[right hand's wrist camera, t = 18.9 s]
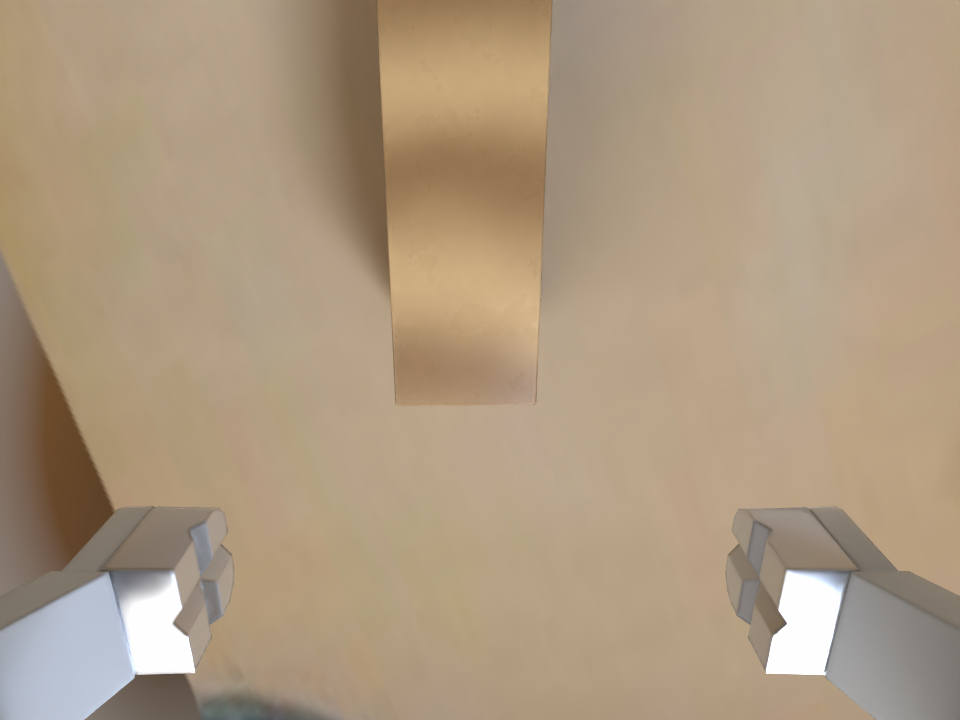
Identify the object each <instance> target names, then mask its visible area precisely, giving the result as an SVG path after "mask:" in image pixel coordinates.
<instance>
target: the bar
mask: <svg viewBox="0 0 960 720" xmlns="http://www.w3.org/2000/svg"><path fill="white" fill-rule="evenodd" d="M376 7H377V28H378V49H379V69H380V90H381V111H382V132H383V153H384V174H385V194H386V215H387V236H388V257H389V278H390V298H391V319H392V340H393V361H394V382H395V403H396V405H397V406H420V405H535V404H536V395H537V370H538V345H539V320H540V296H541V271H542V246H543V221H544V196H545V171H546V146H547V121H548V96H549V71H550V46H551V21H552V0H376Z"/></svg>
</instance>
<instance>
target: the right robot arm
mask: <svg viewBox="0 0 960 720" xmlns="http://www.w3.org/2000/svg"><path fill="white" fill-rule="evenodd" d="M227 532H228V528H227V523H226V518H225V514H224V512H223V511H222V510H220V509H219V508H200V507H153V506H138V507H123V508H120V509H118V510H117V511H116V512H115V513H114V514H113V515H112V516H111V517H110V518H109V520H108V521H107V522H106V523H105V524H104V525H103V526H102V527H101V528H100V529H99V530H98V532H97V533H96V534H95V535H94V536H93V537H92V538H91V539H90V541H88V543H87V544H86V545H85V546H84V547H83V548H82V549H81V550H80V551H79V552H78V554H77V555H76V556H75V557H74V558H73V559H72V560H71V561H70V562H69V563H68V565H67V566H66V567H65V568H64V569H63V570H62V571H51V572H49V573H47V574H45V575H42V576H40V577H38V578H36V579H34V580H32V581H30V582H28V583H26V584H24V585H22V586H20V587H18V588H16V589H14V590H12V591H10V592H8V593H6V594H4V595H1V596H0V720H84V719H85V718H87V717H88V716H89V715H90V714H91V713H93V712H94V711H95V710H96V709H97V708H99V707H100V706H101V705H102V704H103V703H105V702H106V701H107V700H108V699H109V698H111V697H112V696H113V695H114V694H116V693H117V692H118V691H119V690H120V689H121V688H123V687H124V686H125V685H126V684H128V683H129V682H130V681H131V680H132V679H134V677H135V676H134V674H168V673H194V672H195V670H196V668H197V666H198V664H199V662H200V660H201V658H202V656H203V654H204V652H205V650H206V648H207V646H208V644H209V642H210V640H211V638H212V636H211V630H210V624H212V623H213V622H215V621H216V620H217V619H219V618H220V617H222V616H223V615H224V612H225V610H226V608H227V606H228V604H229V602H230V598H231V593H232V589H233V584H234V565H233V558H232V554H231V553H230V552H229V551H228V550H227V549H226V548H225V547H224V546H223V545H222V544H221V542H222V541H223V539H224V537H225V536H226V534H227ZM732 532H733V534H734V536H735V537H736V539H737V541H738V542H739V544H738V545H737V546H736V547H735V548H734V549H733V550H732V551H731V552H730V553H729V554H728V559H727V567H726V581H727V591H728V594H729V598H730V601H731V604H732V606H733V608H734V610H735V612H736V615H737V616H738V617H740V618H741V619H743V620H744V621H745V622H747V623H748V624H750V630H749V636H748V638H749V640H750V642H751V644H752V646H753V648H754V650H755V652H756V654H757V656H758V658H759V660H760V662H761V664H762V666H763V668H764V669H765V671H766V673H790V674H826V675H825V678H827V679H828V680H829V681H830V682H831V683H833V684H834V685H835V686H836V687H838V688H839V689H840V690H841V691H842V692H844V693H845V694H846V695H847V696H848V697H850V698H851V699H852V700H853V701H854V702H856V703H857V704H858V705H859V706H860V707H862V708H863V709H864V710H865V711H866V712H868V713H869V714H870V715H871V716H872V717H874V718H875V719H876V720H960V596H958V595H956V594H954V593H952V592H950V591H948V590H946V589H944V588H942V587H940V586H938V585H936V584H934V583H932V582H930V581H928V580H926V579H924V578H922V577H920V576H918V575H916V574H913V573H911V572H909V571H898V570H897V569H896V568H895V567H894V566H893V565H892V563H891V562H890V561H889V560H888V559H887V558H886V557H885V556H884V555H883V554H882V552H881V551H880V550H879V549H878V548H877V547H876V546H875V545H874V544H873V543H872V541H871V540H870V539H869V538H868V537H867V536H866V535H865V534H864V533H863V532H862V530H861V529H860V528H859V527H858V526H857V525H856V524H855V523H854V522H853V521H852V519H851V518H850V517H849V516H848V515H847V514H846V513H845V512H844V511H843V510H842V509H840V508H838V507H836V506H821V507H802V508H756V509H738V511H737V513H736V515H735V517H734V522H733V528H732Z"/></svg>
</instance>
